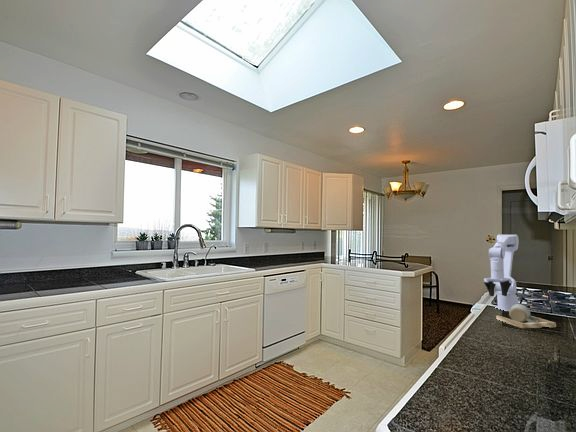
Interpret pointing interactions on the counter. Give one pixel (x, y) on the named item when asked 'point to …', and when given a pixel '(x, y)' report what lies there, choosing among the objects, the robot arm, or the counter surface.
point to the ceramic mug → (521, 314)
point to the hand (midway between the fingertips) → (498, 295)
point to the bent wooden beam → (540, 323)
